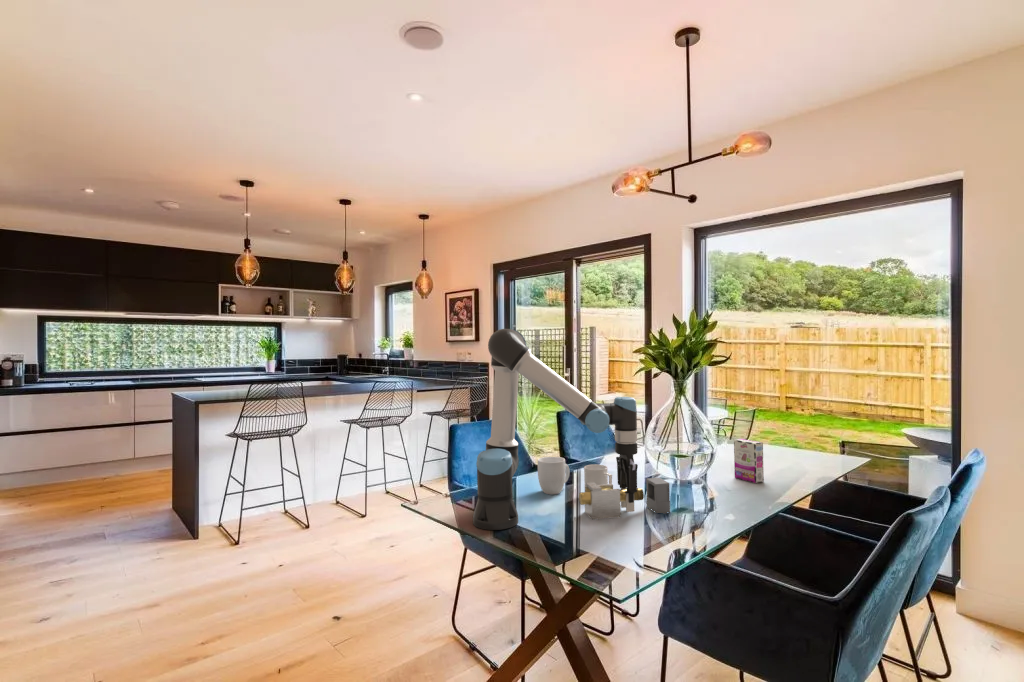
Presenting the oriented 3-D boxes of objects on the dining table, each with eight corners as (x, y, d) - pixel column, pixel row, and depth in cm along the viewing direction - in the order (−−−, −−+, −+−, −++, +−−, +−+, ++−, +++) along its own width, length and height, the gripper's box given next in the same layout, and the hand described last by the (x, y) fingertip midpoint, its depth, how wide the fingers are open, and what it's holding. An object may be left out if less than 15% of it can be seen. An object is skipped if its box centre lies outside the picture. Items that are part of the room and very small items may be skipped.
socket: (656, 514, 184) (656, 484, 184) (646, 506, 192) (646, 478, 192) (670, 512, 185) (669, 483, 185) (659, 505, 193) (659, 477, 193)
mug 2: (579, 495, 207) (579, 467, 207) (595, 491, 213) (594, 463, 213) (603, 502, 198) (603, 472, 198) (619, 497, 204) (618, 468, 204)
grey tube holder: (592, 519, 180) (591, 489, 180) (584, 512, 188) (584, 482, 188) (620, 517, 182) (620, 486, 182) (612, 509, 190) (611, 480, 190)
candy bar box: (764, 482, 220) (763, 442, 220) (755, 483, 218) (755, 443, 218) (742, 476, 231) (741, 438, 231) (733, 477, 229) (733, 439, 228)
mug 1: (559, 485, 223) (558, 453, 223) (578, 490, 215) (577, 457, 215) (532, 492, 214) (531, 459, 214) (551, 498, 205) (550, 463, 205)
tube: (582, 506, 181) (582, 494, 181) (579, 502, 185) (578, 491, 185) (643, 501, 185) (643, 489, 185) (639, 498, 189) (638, 486, 189)
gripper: (646, 446, 179) (648, 516, 179) (626, 437, 195) (628, 501, 195) (625, 447, 177) (626, 518, 177) (607, 438, 194) (608, 502, 194)
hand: (627, 509), depth 186 cm, fingers closed on tube, 4 cm apart
